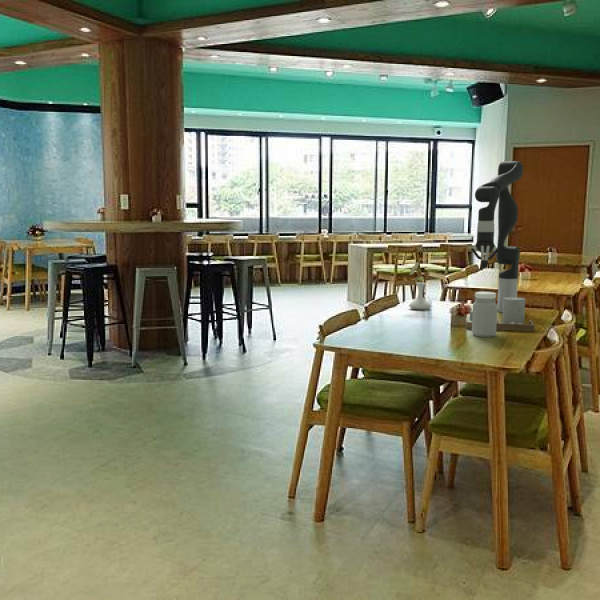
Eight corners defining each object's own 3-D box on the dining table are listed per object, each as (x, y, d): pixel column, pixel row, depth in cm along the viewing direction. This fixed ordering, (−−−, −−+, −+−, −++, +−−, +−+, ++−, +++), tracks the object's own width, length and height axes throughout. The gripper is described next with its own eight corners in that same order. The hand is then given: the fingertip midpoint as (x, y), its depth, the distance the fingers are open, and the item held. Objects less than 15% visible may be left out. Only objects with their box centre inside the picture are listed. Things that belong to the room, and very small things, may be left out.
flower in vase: (418, 306, 346) (419, 260, 343) (435, 309, 338) (437, 261, 334) (402, 309, 338) (403, 261, 334) (419, 312, 329) (420, 263, 326)
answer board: (465, 324, 296) (465, 316, 296) (530, 326, 290) (531, 319, 290) (466, 329, 284) (466, 321, 284) (534, 331, 278) (534, 324, 278)
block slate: (470, 318, 312) (471, 310, 311) (479, 319, 310) (479, 310, 310) (469, 319, 308) (470, 311, 307) (478, 320, 306) (478, 312, 306)
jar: (500, 337, 268) (502, 294, 265) (478, 338, 266) (480, 294, 264) (489, 332, 278) (490, 290, 275) (467, 333, 276) (469, 291, 273)
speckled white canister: (521, 323, 299) (522, 296, 297) (526, 327, 289) (527, 300, 287) (500, 322, 300) (501, 296, 298) (504, 326, 290) (505, 299, 288)
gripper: (500, 230, 299) (498, 268, 301) (470, 230, 301) (469, 267, 304) (501, 231, 291) (499, 269, 294) (471, 231, 294) (469, 269, 297)
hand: (484, 268), depth 299 cm, fingers closed
